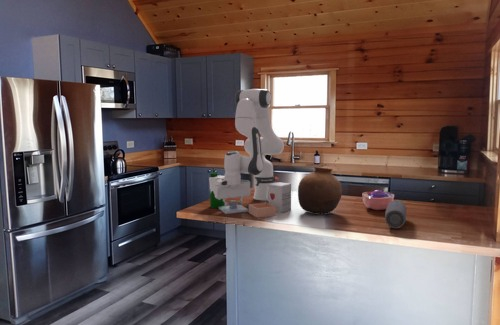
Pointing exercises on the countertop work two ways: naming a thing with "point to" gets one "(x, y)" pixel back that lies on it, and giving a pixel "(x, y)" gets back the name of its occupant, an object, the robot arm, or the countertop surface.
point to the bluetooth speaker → (395, 214)
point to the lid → (233, 208)
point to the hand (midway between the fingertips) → (233, 205)
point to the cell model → (377, 199)
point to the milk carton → (213, 201)
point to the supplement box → (280, 196)
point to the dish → (262, 210)
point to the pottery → (319, 191)
